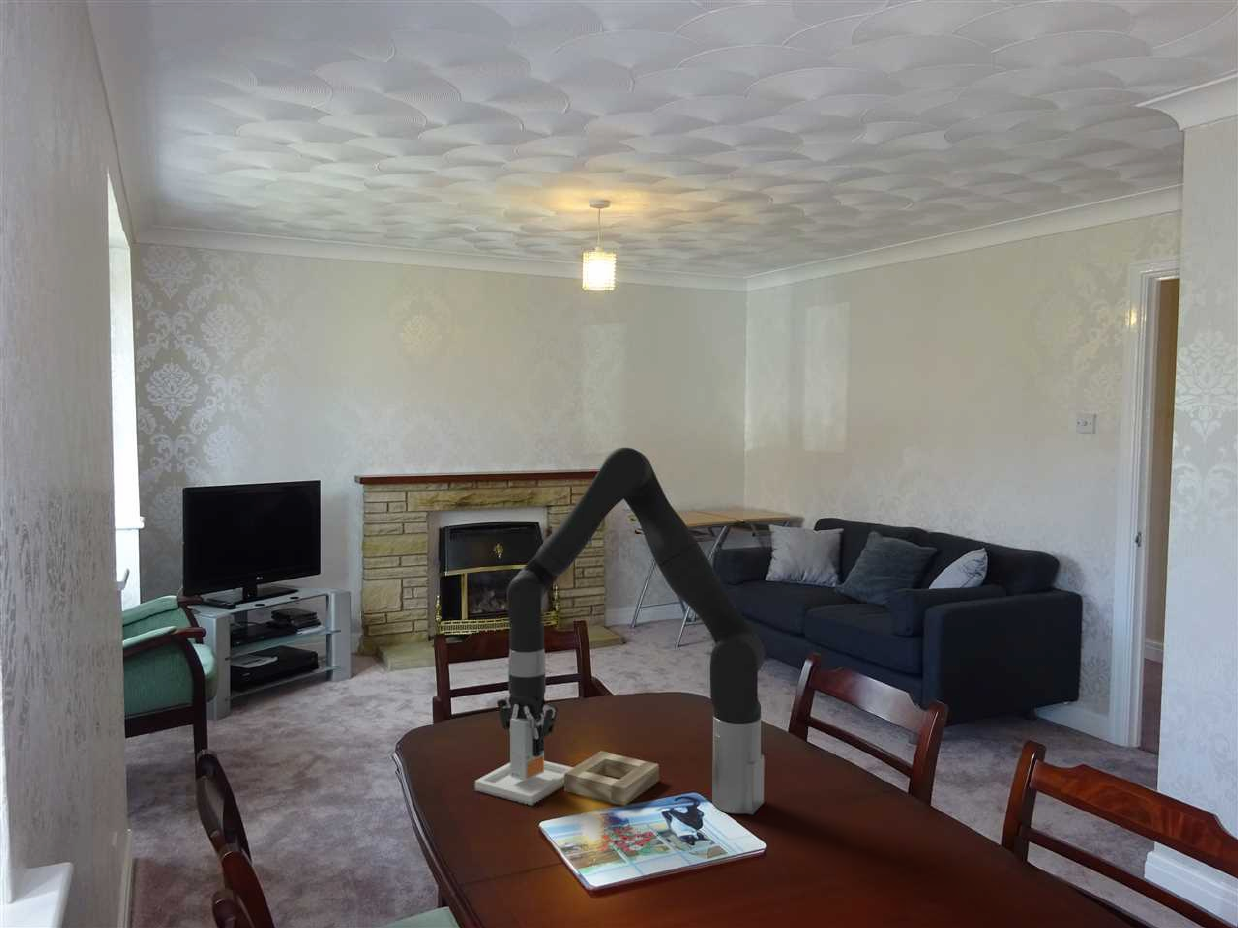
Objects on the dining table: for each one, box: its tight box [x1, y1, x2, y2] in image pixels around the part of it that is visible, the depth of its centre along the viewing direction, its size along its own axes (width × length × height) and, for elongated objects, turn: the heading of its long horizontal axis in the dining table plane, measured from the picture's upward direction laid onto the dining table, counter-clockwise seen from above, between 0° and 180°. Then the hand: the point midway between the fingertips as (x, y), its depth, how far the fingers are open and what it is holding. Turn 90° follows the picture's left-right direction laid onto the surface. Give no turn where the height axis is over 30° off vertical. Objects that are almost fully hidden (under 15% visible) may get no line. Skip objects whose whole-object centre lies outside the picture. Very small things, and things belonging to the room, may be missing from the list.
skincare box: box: [509, 716, 545, 781], centre depth 178 cm, size 6×4×12 cm
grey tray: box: [474, 760, 574, 806], centre depth 178 cm, size 14×16×2 cm
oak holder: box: [563, 750, 660, 807], centre depth 177 cm, size 14×14×4 cm
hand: (527, 752), depth 178 cm, fingers open, 4 cm apart
